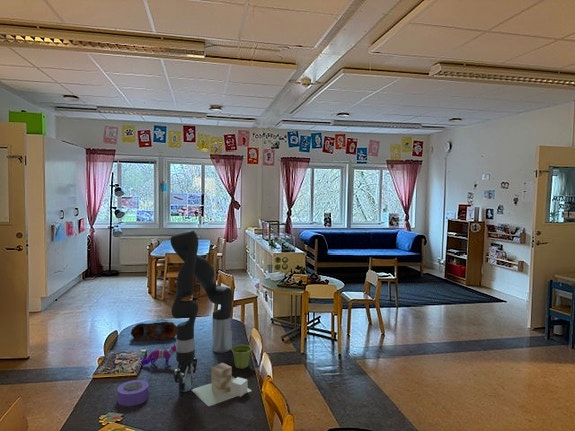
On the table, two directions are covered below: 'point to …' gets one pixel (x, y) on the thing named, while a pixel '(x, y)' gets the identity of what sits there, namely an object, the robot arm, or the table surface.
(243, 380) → the block
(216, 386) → the tower base
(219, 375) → the tower top
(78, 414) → the table surface
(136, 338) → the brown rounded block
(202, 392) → the mat
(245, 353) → the plant pot
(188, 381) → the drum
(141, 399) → the tape roll
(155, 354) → the toy dog
